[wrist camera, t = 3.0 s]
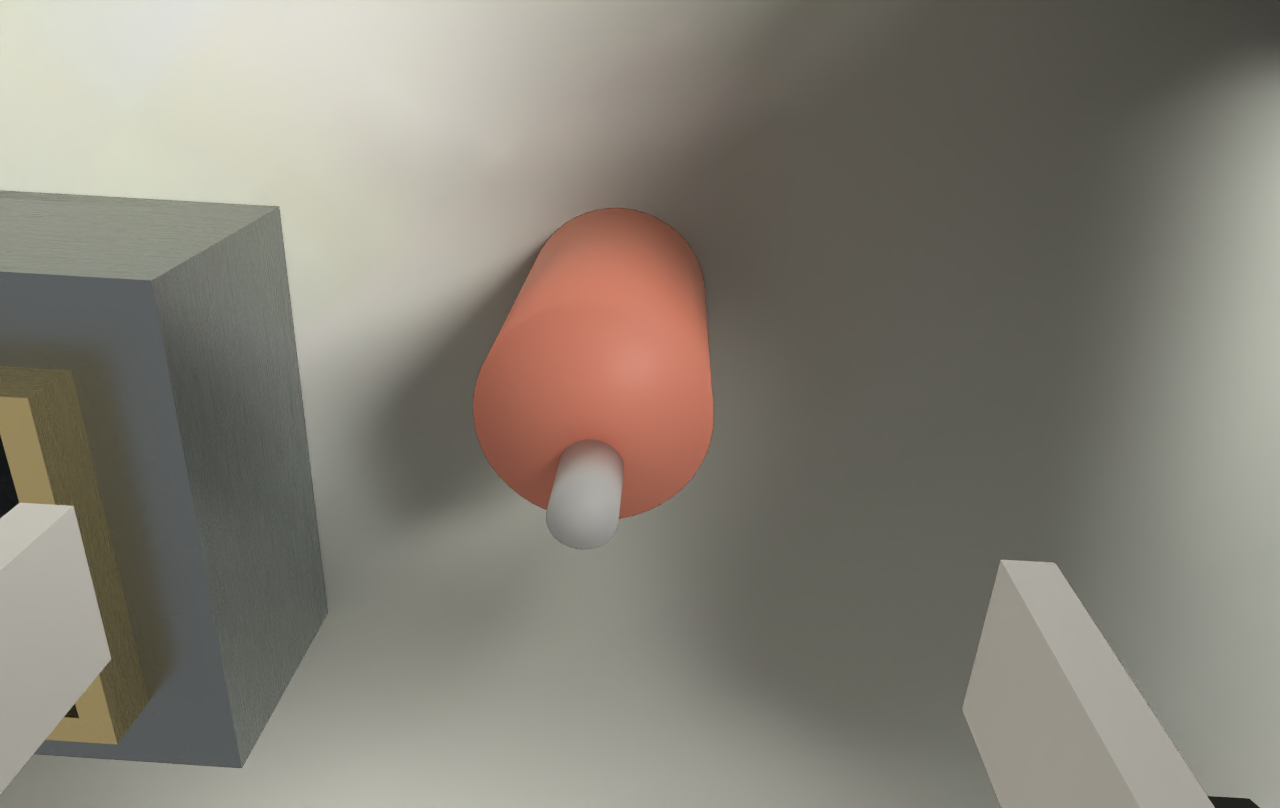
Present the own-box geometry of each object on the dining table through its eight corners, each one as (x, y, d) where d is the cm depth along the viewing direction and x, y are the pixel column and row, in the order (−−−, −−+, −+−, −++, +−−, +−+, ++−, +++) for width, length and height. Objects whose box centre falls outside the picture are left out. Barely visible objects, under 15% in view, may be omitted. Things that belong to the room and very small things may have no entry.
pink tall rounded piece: (530, 202, 25) (445, 332, 16) (711, 213, 25) (728, 349, 16) (530, 370, 27) (455, 566, 18) (698, 380, 27) (706, 582, 18)
